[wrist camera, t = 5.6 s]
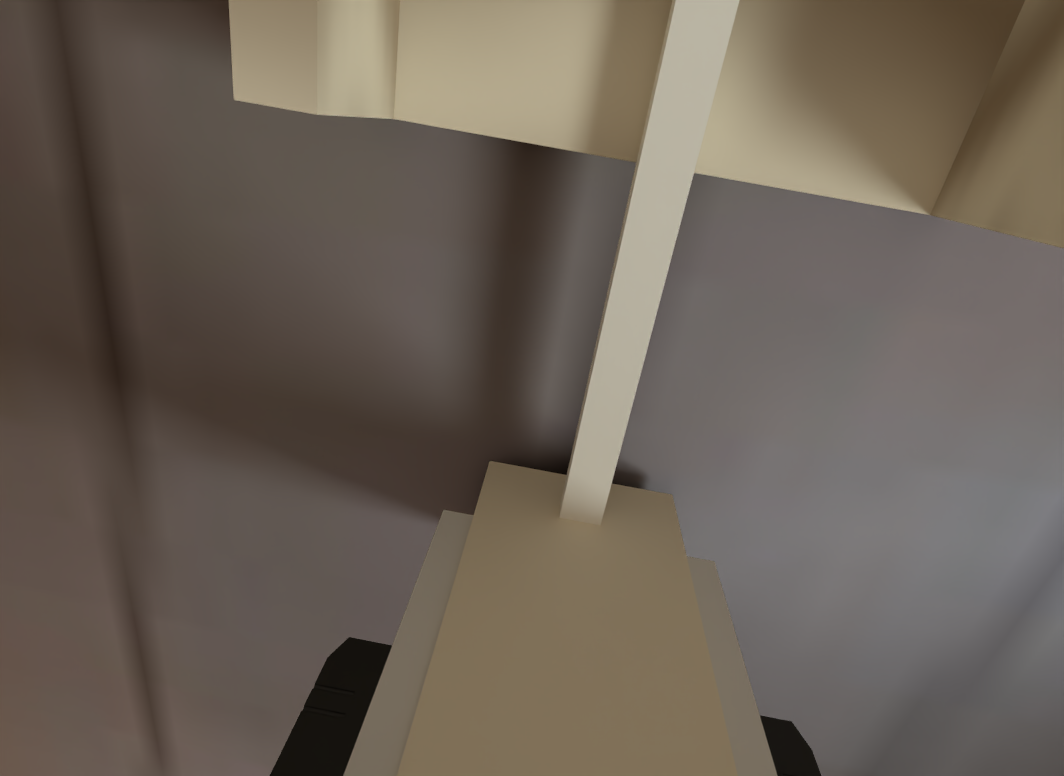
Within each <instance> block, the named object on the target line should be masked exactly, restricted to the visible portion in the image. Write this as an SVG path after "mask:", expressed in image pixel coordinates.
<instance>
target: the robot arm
mask: <svg viewBox="0 0 1064 776" xmlns="http://www.w3.org/2000/svg"><path fill="white" fill-rule="evenodd" d="M473 516H474V515H469V514H464V513H458V512H453V511H448V510H443V512H442V515H441V518H440V520H439V523H438V526H437V528H436V531H435V534H434V536H433V539H432V541H431V544H430V547H429V549H428V552H427V555H426V557H425V560H424V563H423V565H422V568H421V571H420V573H419V576H418V579H417V581H416V584H415V587H414V589H413V592H412V595H411V597H410V600H409V603H408V605H407V608H406V610H405V613H404V616H403V618H402V621H401V624H400V626H399V629H398V632H397V634H396V637H395V640H394V642H393V645H386V644H381V643H376V642H371V641H366V640H361V639H355V638H350V637H349V638H348V639H347V640H346V641H345V642H344V643H343V644H342V645H340V646H339V647H338V648H337V649H336V650H335V651H334V652H333V653H332V654H331V655H330V656H329V657H328V658H327V660H326V662H325V664H324V666H323V668H322V670H321V672H320V674H319V676H318V678H317V680H316V683H315V686H314V688H313V689H312V691H311V693H310V695H309V697H308V699H307V701H306V703H305V705H304V709H303V711H301V713H300V715H299V717H298V719H297V721H296V723H295V725H294V727H293V729H292V731H291V734H290V736H289V738H288V740H287V742H286V744H285V746H284V748H283V750H282V752H281V754H280V756H279V758H278V760H277V762H276V764H275V766H274V768H273V770H272V772H271V774H270V776H397V774H398V770H399V767H400V763H401V760H402V757H403V753H404V750H405V746H406V743H407V740H408V736H409V733H410V729H411V726H412V723H413V719H414V716H415V712H416V709H417V706H418V702H419V699H420V695H421V692H422V689H423V685H424V682H425V679H426V675H427V672H428V668H429V665H430V662H431V658H432V655H433V651H434V648H435V645H436V641H437V638H438V634H439V631H440V628H441V624H442V621H443V617H444V614H445V611H446V607H447V604H448V600H449V597H450V594H451V590H452V587H453V584H454V580H455V577H456V573H457V570H458V567H459V563H460V560H461V556H462V553H463V550H464V546H465V543H466V539H467V536H468V533H469V529H470V526H471V522H472V519H473ZM687 560H688V564H689V569H690V573H691V577H692V582H693V586H694V590H695V594H696V599H697V603H698V607H699V612H700V616H701V620H702V625H703V629H704V633H705V637H706V642H707V646H708V650H709V655H710V659H711V663H712V667H713V672H714V676H715V680H716V685H717V689H718V693H719V697H720V702H721V706H722V710H723V715H724V719H725V723H726V727H727V732H728V736H729V740H730V745H731V749H732V753H733V757H734V762H735V766H736V770H737V775H738V776H821V774H820V771H819V768H818V766H817V763H816V760H815V757H814V755H813V752H812V750H811V748H810V747H809V745H808V744H807V743H806V741H805V740H804V738H803V737H802V736H801V734H800V733H799V731H798V730H797V728H796V727H795V726H794V724H793V723H792V722H791V721H786V720H780V719H775V718H770V717H765V716H760V715H759V711H758V708H757V705H756V701H755V698H754V694H753V691H752V688H751V684H750V681H749V677H748V674H747V671H746V667H745V664H744V660H743V657H742V654H741V650H740V647H739V644H738V640H737V637H736V633H735V630H734V627H733V623H732V620H731V616H730V613H729V610H728V606H727V603H726V599H725V596H724V593H723V589H722V586H721V582H720V579H719V576H718V572H717V569H716V565H715V562H714V561H709V560H704V559H699V558H694V557H688V556H687Z"/></svg>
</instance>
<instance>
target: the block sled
mask: <svg viewBox="0 0 1064 776" xmlns="http://www.w3.org/2000/svg"><path fill="white" fill-rule="evenodd" d="M739 1H740V0H672V5H671V9H670V14H669V18H668V23H667V27H666V32H665V36H664V41H663V45H662V50H661V54H660V59H659V63H658V68H657V72H656V77H655V81H654V86H653V90H652V95H651V99H650V104H649V108H648V113H647V117H646V122H645V126H644V131H643V135H642V140H641V144H640V148H639V153H638V157H637V162H636V166H635V171H634V175H633V180H632V184H631V189H630V193H629V198H628V202H627V207H626V211H625V216H624V220H623V225H622V229H621V234H620V238H619V243H618V247H617V252H616V256H615V261H614V265H613V270H612V274H611V279H610V283H609V288H608V292H607V296H606V301H605V305H604V310H603V314H602V319H601V323H600V328H599V332H598V337H597V341H596V346H595V350H594V355H593V359H592V364H591V368H590V373H589V377H588V382H587V386H586V391H585V395H584V400H583V404H582V409H581V413H580V418H579V422H578V427H577V431H576V436H575V440H574V444H573V449H572V453H571V458H570V462H569V467H568V471H567V475H564V474H558V473H553V472H548V471H542V470H537V469H531V468H526V467H521V466H515V465H510V464H505V463H499V462H494V461H489V465H488V468H487V472H486V475H485V478H484V482H483V485H482V488H481V492H480V495H479V499H478V502H477V505H476V509H475V512H474V516H473V519H472V522H471V526H470V529H469V533H468V536H467V539H466V543H465V546H464V550H463V553H462V556H461V560H460V563H459V567H458V570H457V573H456V577H455V580H454V584H453V587H452V590H451V594H450V597H449V600H448V604H447V607H446V611H445V614H444V617H443V621H442V624H441V628H440V631H439V634H438V638H437V641H436V645H435V648H434V651H433V655H432V658H431V662H430V665H429V668H428V672H427V675H426V679H425V682H424V685H423V689H422V692H421V695H420V699H419V702H418V706H417V709H416V712H415V716H414V719H413V723H412V726H411V729H410V733H409V736H408V740H407V743H406V746H405V750H404V753H403V757H402V760H401V763H400V767H399V770H398V774H397V776H738V775H737V770H736V766H735V762H734V757H733V753H732V749H731V745H730V740H729V736H728V732H727V727H726V723H725V719H724V715H723V710H722V706H721V702H720V697H719V693H718V689H717V685H716V680H715V676H714V672H713V667H712V663H711V659H710V655H709V650H708V646H707V642H706V637H705V633H704V629H703V625H702V620H701V616H700V612H699V607H698V603H697V599H696V594H695V590H694V586H693V582H692V577H691V573H690V569H689V564H688V560H687V556H686V552H685V547H684V543H683V539H682V534H681V530H680V526H679V522H678V517H677V513H676V509H675V504H674V500H673V496H672V495H671V494H665V493H660V492H655V491H649V490H644V489H639V488H633V487H628V486H623V485H617V484H612V480H613V477H614V473H615V469H616V465H617V461H618V458H619V454H620V450H621V446H622V443H623V439H624V435H625V431H626V427H627V424H628V420H629V416H630V412H631V409H632V405H633V401H634V397H635V393H636V390H637V386H638V382H639V378H640V375H641V371H642V367H643V363H644V359H645V356H646V352H647V348H648V344H649V341H650V337H651V333H652V329H653V325H654V322H655V318H656V314H657V310H658V307H659V303H660V299H661V295H662V291H663V288H664V284H665V280H666V276H667V273H668V269H669V265H670V261H671V257H672V254H673V250H674V246H675V242H676V239H677V235H678V231H679V227H680V223H681V220H682V216H683V212H684V208H685V205H686V201H687V197H688V193H689V189H690V186H691V182H692V178H693V174H694V171H695V167H696V163H697V159H698V155H699V152H700V148H701V144H702V140H703V137H704V133H705V129H706V125H707V121H708V118H709V114H710V110H711V106H712V103H713V99H714V95H715V91H716V87H717V84H718V80H719V76H720V72H721V69H722V65H723V61H724V57H725V53H726V50H727V46H728V42H729V38H730V35H731V31H732V27H733V23H734V20H735V16H736V12H737V8H738V4H739Z"/></svg>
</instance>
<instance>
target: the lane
mask: <svg viewBox="0 0 1064 776" xmlns="http://www.w3.org/2000/svg"><path fill="white" fill-rule="evenodd" d="M671 5H672V0H229V18H230V36H231V55H232V74H233V92H234V100H238V101H243V102H249V103H255V104H260V105H266V106H271V107H277V108H283V109H288V110H294V111H299V112H305V113H310V114H316V115H331V116H349V117H367V118H384V119H396V120H402V121H408V122H413V123H419V124H424V125H430V126H436V127H441V128H447V129H452V130H458V131H464V132H469V133H475V134H480V135H486V136H491V137H497V138H503V139H508V140H514V141H519V142H525V143H531V144H536V145H542V146H547V147H553V148H558V149H564V150H570V151H575V152H581V153H586V154H592V155H598V156H603V157H609V158H614V159H620V160H626V161H631V162H637V157H638V153H639V148H640V144H641V140H642V135H643V131H644V126H645V122H646V117H647V113H648V108H649V104H650V99H651V95H652V90H653V86H654V81H655V77H656V72H657V68H658V63H659V59H660V54H661V50H662V45H663V41H664V36H665V32H666V27H667V23H668V18H669V14H670V9H671ZM694 173H698V174H704V175H709V176H715V177H720V178H726V179H732V180H737V181H743V182H748V183H754V184H760V185H765V186H771V187H776V188H782V189H788V190H793V191H799V192H804V193H810V194H815V195H821V196H827V197H832V198H838V199H843V200H849V201H855V202H860V203H866V204H871V205H877V206H882V207H888V208H894V209H899V210H905V211H910V212H916V213H922V214H927V215H932V216H936V217H940V218H944V219H948V220H952V221H956V222H960V223H964V224H968V225H972V226H976V227H980V228H984V229H988V230H992V231H996V232H1000V233H1005V234H1009V235H1013V236H1017V237H1021V238H1025V239H1029V240H1033V241H1037V242H1041V243H1045V244H1049V245H1053V246H1057V247H1061V248H1064V0H740V1H739V4H738V8H737V12H736V16H735V20H734V23H733V27H732V31H731V35H730V38H729V42H728V46H727V50H726V53H725V57H724V61H723V65H722V69H721V72H720V76H719V80H718V84H717V87H716V91H715V95H714V99H713V103H712V106H711V110H710V114H709V118H708V121H707V125H706V129H705V133H704V137H703V140H702V144H701V148H700V152H699V155H698V159H697V163H696V167H695V171H694Z"/></svg>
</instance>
